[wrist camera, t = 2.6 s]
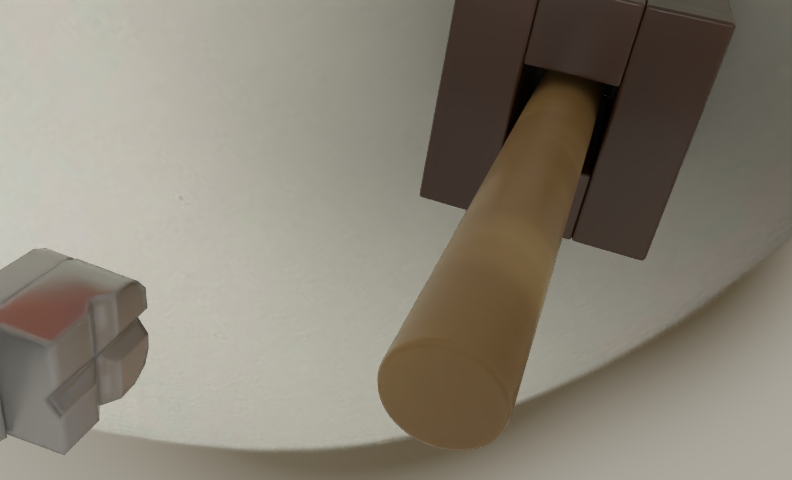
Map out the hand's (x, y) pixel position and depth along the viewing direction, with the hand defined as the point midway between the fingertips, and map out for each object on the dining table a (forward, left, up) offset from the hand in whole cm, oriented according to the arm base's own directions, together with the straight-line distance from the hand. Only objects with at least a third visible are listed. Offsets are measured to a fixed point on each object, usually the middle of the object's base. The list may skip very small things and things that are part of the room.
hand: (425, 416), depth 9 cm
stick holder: (0, 0, -18) cm, 18 cm away
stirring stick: (0, 0, -18) cm, 18 cm away
